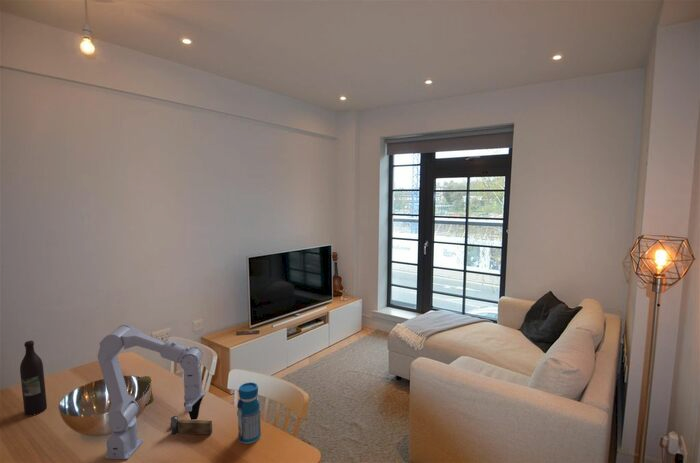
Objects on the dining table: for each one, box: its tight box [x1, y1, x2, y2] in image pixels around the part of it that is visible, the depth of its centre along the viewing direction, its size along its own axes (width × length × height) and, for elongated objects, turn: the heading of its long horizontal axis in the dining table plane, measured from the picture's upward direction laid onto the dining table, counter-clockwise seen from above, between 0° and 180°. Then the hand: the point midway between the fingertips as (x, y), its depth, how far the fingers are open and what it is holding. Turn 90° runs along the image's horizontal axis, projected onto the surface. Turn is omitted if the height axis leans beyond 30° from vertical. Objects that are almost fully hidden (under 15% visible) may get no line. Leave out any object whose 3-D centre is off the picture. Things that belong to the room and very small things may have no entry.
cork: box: [137, 375, 154, 405], centre depth 158 cm, size 6×6×11 cm
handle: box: [177, 419, 213, 435], centre depth 138 cm, size 13×2×5 cm, turn 88°
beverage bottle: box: [236, 382, 262, 445], centre depth 135 cm, size 8×8×20 cm
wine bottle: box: [19, 340, 48, 416], centre depth 149 cm, size 7×7×30 cm
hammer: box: [169, 415, 179, 436], centre depth 148 cm, size 22×4×6 cm, turn 178°
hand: (194, 418), depth 132 cm, fingers closed
